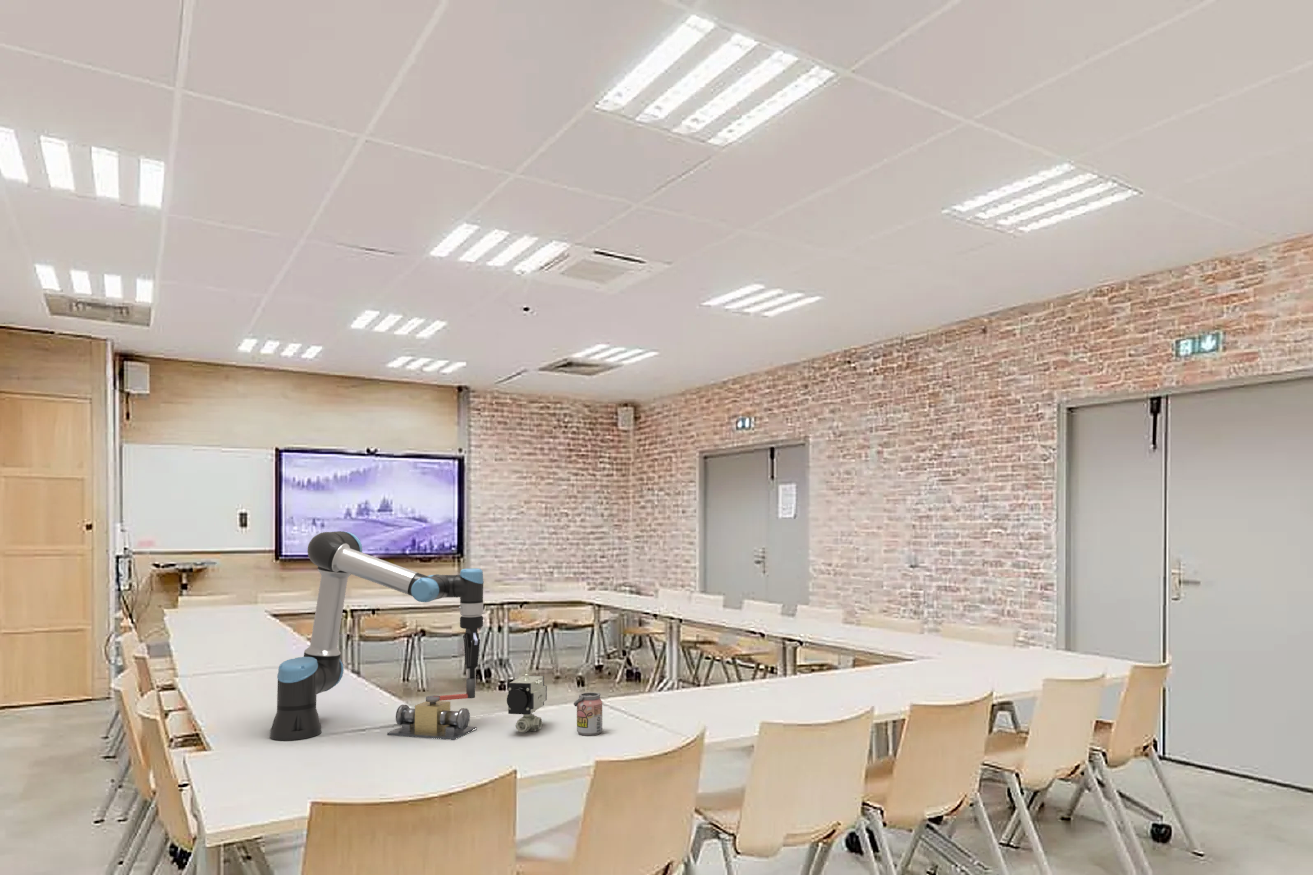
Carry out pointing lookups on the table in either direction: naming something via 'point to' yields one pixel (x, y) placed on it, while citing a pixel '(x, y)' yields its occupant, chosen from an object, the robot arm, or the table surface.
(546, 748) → the table surface
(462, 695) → the lever
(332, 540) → the robot arm
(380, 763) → the table surface
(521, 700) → the ball valve
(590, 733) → the beverage can
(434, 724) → the valve assembly
